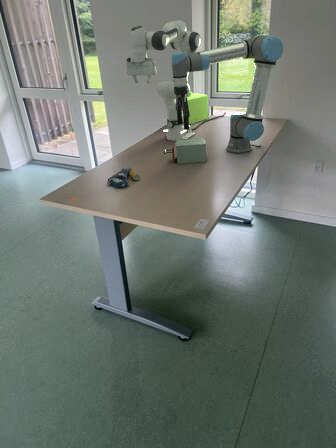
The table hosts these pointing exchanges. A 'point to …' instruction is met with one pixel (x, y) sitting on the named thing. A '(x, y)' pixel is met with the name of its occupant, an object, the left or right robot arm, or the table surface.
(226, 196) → the table surface
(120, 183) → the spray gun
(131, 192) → the table surface
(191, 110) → the lime green box
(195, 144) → the green drawer cabinet
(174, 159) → the drawer
